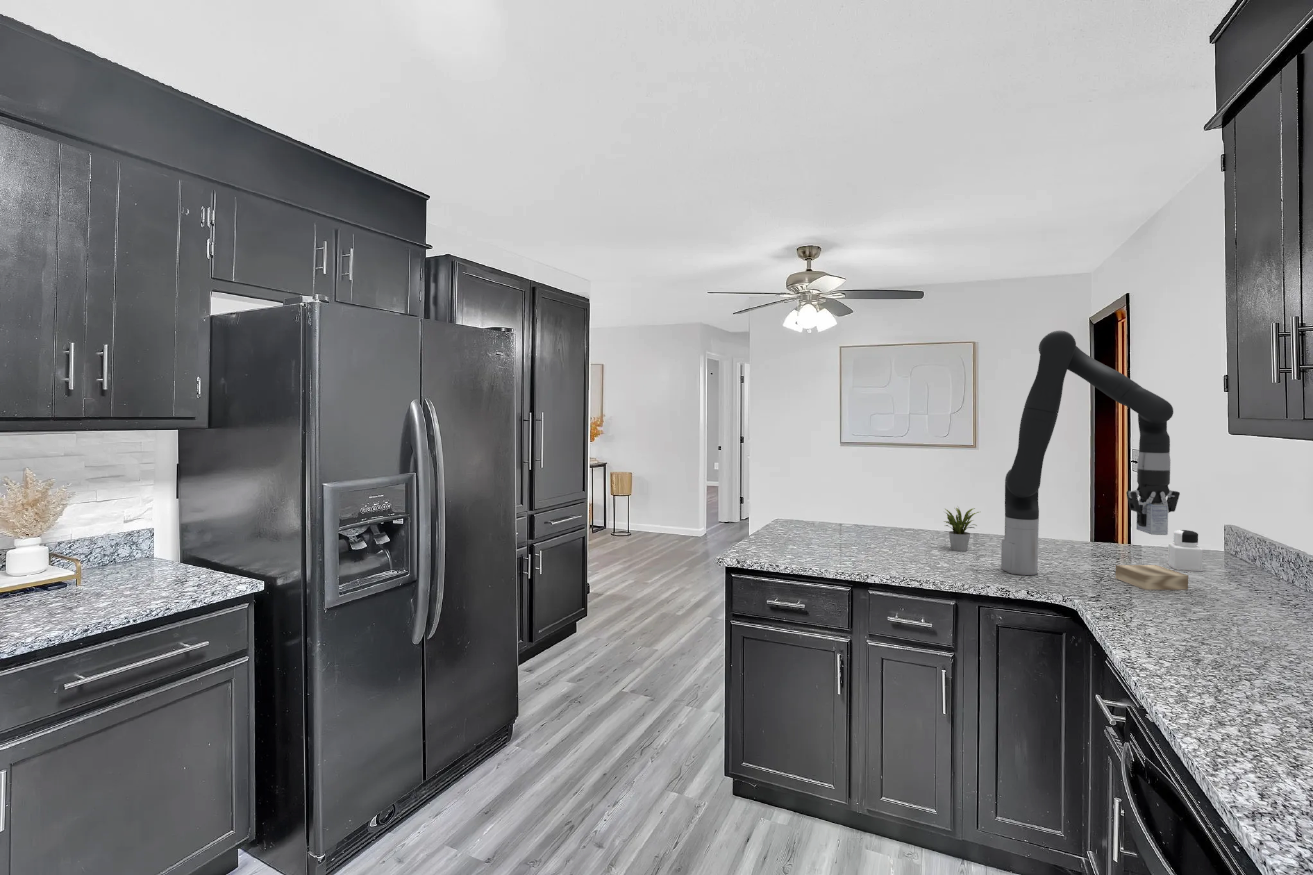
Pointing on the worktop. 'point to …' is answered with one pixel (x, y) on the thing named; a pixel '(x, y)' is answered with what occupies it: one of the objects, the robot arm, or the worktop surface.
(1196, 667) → the worktop surface
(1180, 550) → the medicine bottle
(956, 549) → the house plant
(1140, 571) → the oak base
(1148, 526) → the medicine box
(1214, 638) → the worktop surface
